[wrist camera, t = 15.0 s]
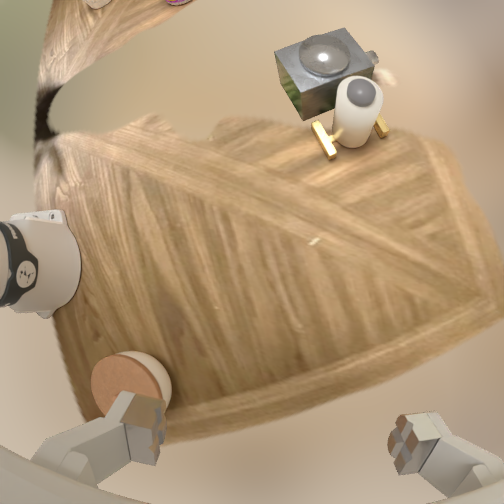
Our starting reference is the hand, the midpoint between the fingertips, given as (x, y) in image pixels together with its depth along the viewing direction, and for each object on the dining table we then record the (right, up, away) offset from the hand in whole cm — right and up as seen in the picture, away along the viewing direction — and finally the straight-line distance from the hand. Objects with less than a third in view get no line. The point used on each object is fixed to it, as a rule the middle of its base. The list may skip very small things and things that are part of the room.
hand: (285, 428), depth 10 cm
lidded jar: (-16, -13, +34) cm, 40 cm away
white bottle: (+12, +22, +30) cm, 39 cm away
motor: (+12, +26, +30) cm, 42 cm away
